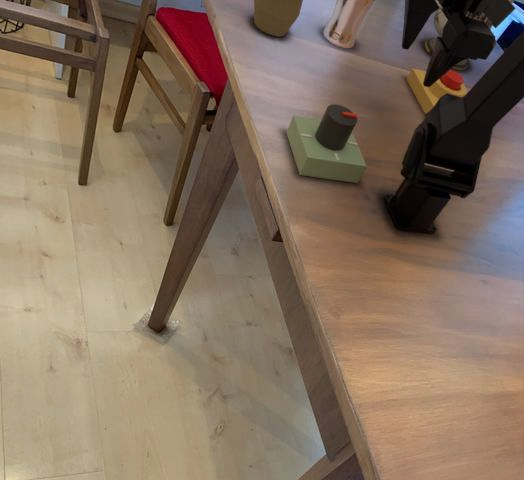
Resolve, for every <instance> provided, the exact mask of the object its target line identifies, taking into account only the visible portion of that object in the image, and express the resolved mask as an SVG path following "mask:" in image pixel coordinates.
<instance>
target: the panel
mask: <svg viewBox="0 0 524 480" xmlns="http://www.w3.org/2000/svg"><path fill="white" fill-rule="evenodd" d="M321 120H322V119H317V118H311V117H306V116H302V115H301V116H300V115H295V114H293V115H292V117H291V120H290V123H289V124H288V128H287V130H286V136H287V140H288V143H289V146H290V149H291V152H292V155H293V158H294V162H295V164H296V167H297V171H298V174H299V175H300V176H304V177H312V178H319V179H324V180H325V179H326V180H333V181H338V182H339V181H340V182H347V183H354V184H358V183H359V182H360V179H361V178H362V176H363V174H364V172H365V171H366V169H367V167H368V166H367V163H366V161H365V158H364V156H363V153H362V152H361V149H360V147H359V144H358V142H357V139H356V137H355V135H354V132H353V131H352V133H351V135H350V137H349V139H348V141H347V143H346V145H345V147H344V148H343V149H342V150H331V149H328V148H326V147H324V146H323V145H321V144H320V143H319V142H318V140H317V139H316V136H315V134H316V131H317V129H318V127H319V125H320V122H321Z"/></svg>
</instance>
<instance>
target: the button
mask: <svg viewBox="0 0 524 480" xmlns="http://www.w3.org/2000/svg"><path fill="white" fill-rule="evenodd" d="M440 81H441V83H442V84H444V85H445V86H446V87H447V88H449V89H451V90H455V91H458V90H459V88H460V87H461V85H462V84H464V82H465V79H464V77H463V76H462V75H461V74H459V73H458V72H457V71H454V70H451V69H450V70H449V71H448V72H447V73H445V74H444V75H443V77H442V78H441V80H440Z"/></svg>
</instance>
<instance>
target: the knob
mask: <svg viewBox="0 0 524 480" xmlns="http://www.w3.org/2000/svg"><path fill="white" fill-rule="evenodd" d="M320 120H321V122H320V125H319V127H318V129H317V131H316V134H315V136H316V139H317V140H318V142H319V143H320V144H321V145H323V146H324V147H326V148H328V149H331V150H342V149H343V148H344V147H345V145H346V143H347V141H348V139H349V137H350V135H351V133H352V132H353V131H354V129H355V127H356V125H357V123H358V114H357V113H354V112H353V111H352V110H350V109H349V108H347V107H346V106H344V105H340V104H336V103H335V104H333V103H331V104H329V105H328V106H327V107H326V109H325V111H324V113H323V115H322V118H321V119H320Z"/></svg>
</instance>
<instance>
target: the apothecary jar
mask: <svg viewBox="0 0 524 480" xmlns="http://www.w3.org/2000/svg"><path fill="white" fill-rule="evenodd" d="M509 1H510V2H511V3H512V4H514V3H515V2H516V0H509ZM466 16H467V17H468V18H472V19H476V20H479V21H483V22H485V23H486V25H487V26H488V27H489V29H490V30H491V31H492V27H493V25H492V22H491V21H490V20H489V19H488V18H487V17H486V15H485V14H484V13H482V14H481V16H480V17H478V16H475V15H473V14H472V13H468V14H467V15H466ZM447 21H448V19H447V18H446V16H445V15H444V13H443V12H442V10H441V9H440V8H439V9H438V10H436V11H435V12H434V16H433V26H434V30H435V31H436V33H437V34H438V37H442V32H443V28H444V26H445V24H446V22H447ZM436 39H437V38H428V39H427V40H426V41H425V42H424V48H425V50H426V52H427V53H428V54H429V55H432V52H433V49H434V46H435V42H436ZM468 66H469V60H468V59H466V60H463V61H461V62H459V63H458V64H457V65H455V66H454V67H452V68H451V69H452V70H457V71H463V70H466V69H467V68H468Z"/></svg>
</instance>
